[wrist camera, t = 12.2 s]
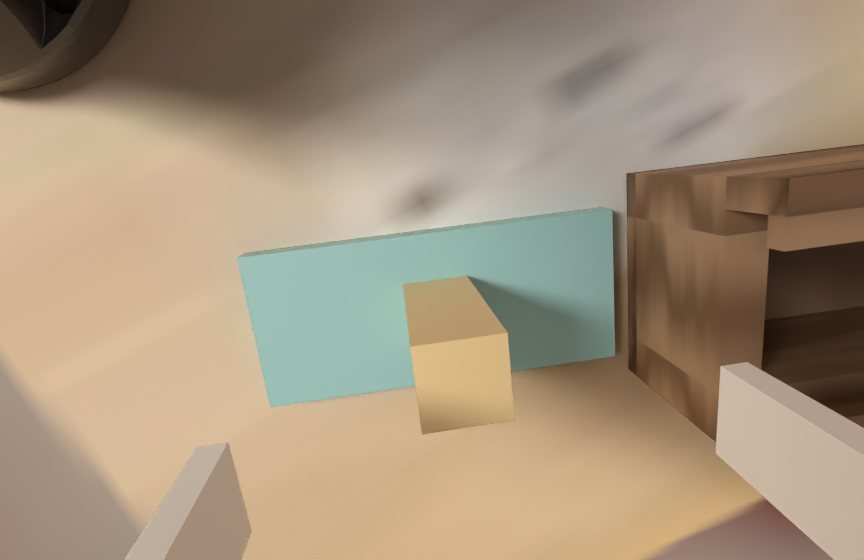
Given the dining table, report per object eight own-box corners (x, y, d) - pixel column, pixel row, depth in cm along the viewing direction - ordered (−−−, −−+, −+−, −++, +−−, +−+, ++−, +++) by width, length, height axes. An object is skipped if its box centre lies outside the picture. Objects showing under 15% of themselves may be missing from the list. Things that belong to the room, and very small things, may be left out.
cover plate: (247, 251, 26) (150, 310, 15) (597, 206, 27) (730, 232, 16) (277, 392, 28) (211, 528, 17) (601, 344, 29) (721, 445, 19)
